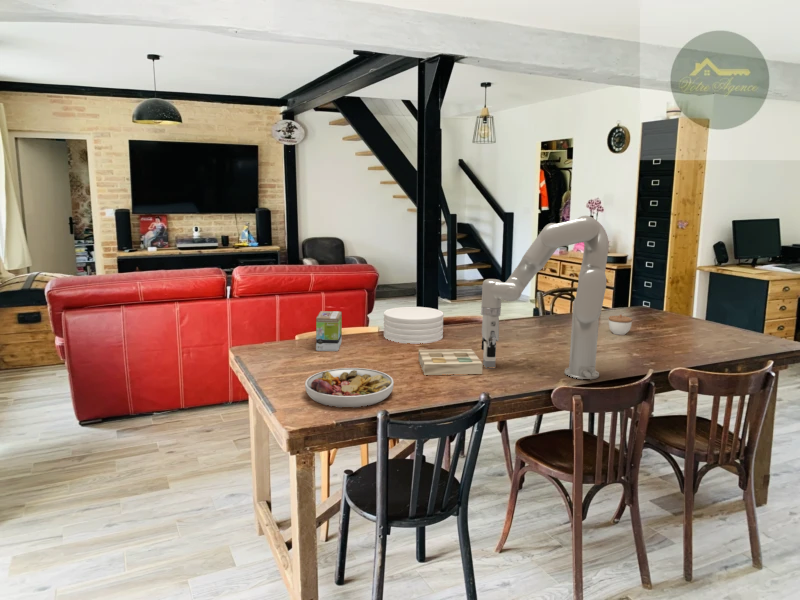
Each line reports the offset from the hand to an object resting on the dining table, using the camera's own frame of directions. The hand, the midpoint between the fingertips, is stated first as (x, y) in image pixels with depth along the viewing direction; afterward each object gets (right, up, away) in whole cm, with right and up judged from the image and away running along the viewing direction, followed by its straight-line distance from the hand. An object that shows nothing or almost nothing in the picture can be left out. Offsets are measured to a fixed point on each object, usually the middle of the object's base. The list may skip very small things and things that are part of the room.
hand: (488, 353), depth 236 cm
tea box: (-66, 0, +28) cm, 72 cm away
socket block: (-15, -6, 0) cm, 16 cm away
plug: (+1, -5, +1) cm, 6 cm away
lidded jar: (+72, +4, +56) cm, 92 cm away
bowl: (-52, -12, -31) cm, 62 cm away
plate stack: (-28, +4, +48) cm, 56 cm away
